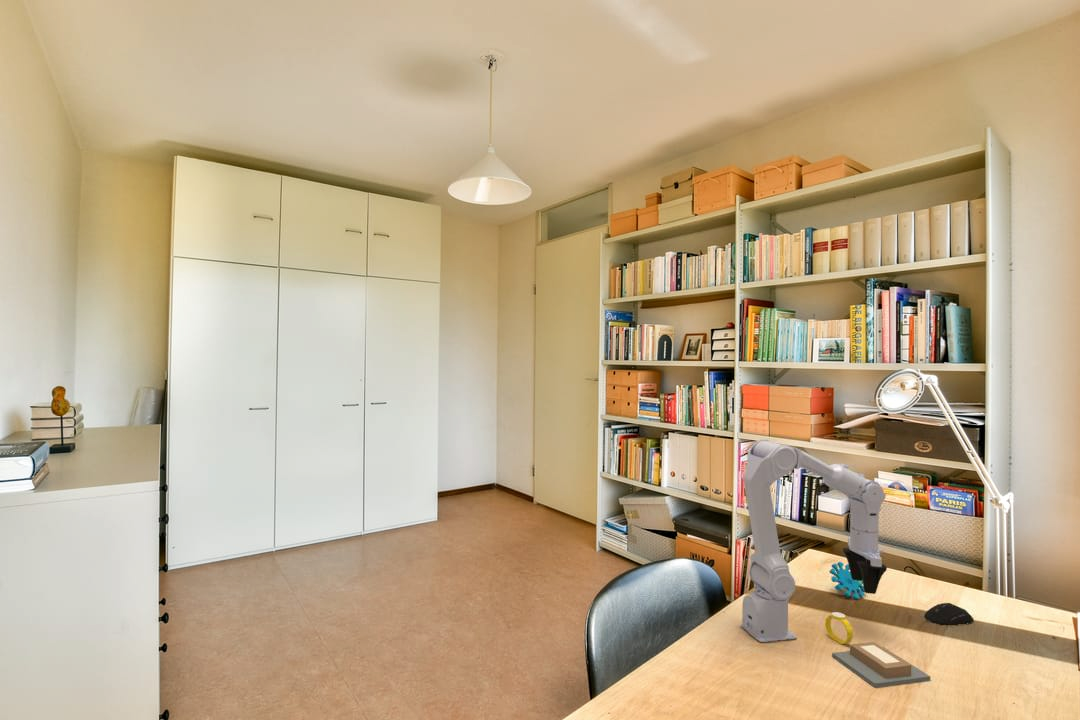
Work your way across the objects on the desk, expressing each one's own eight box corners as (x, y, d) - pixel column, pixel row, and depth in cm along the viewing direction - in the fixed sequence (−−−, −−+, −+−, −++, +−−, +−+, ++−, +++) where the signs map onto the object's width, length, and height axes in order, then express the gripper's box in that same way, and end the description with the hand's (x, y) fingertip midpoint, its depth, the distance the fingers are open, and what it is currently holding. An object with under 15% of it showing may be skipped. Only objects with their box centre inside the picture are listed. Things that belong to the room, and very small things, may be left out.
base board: (874, 687, 101) (874, 672, 101) (832, 656, 112) (832, 642, 112) (930, 680, 104) (930, 665, 104) (883, 650, 115) (883, 637, 115)
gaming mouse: (908, 618, 131) (908, 602, 131) (953, 612, 134) (954, 596, 134) (932, 631, 125) (933, 614, 125) (980, 624, 128) (980, 607, 128)
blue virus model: (842, 596, 138) (826, 559, 146) (829, 604, 142) (813, 568, 150) (878, 598, 141) (860, 562, 148) (863, 607, 144) (846, 571, 152)
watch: (823, 637, 121) (821, 610, 121) (832, 635, 122) (830, 608, 122) (846, 648, 115) (845, 620, 116) (855, 646, 116) (854, 618, 117)
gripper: (897, 540, 117) (896, 601, 117) (869, 521, 132) (869, 576, 131) (862, 537, 119) (861, 597, 119) (839, 519, 133) (838, 573, 133)
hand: (863, 586), depth 125 cm, fingers open, 7 cm apart
